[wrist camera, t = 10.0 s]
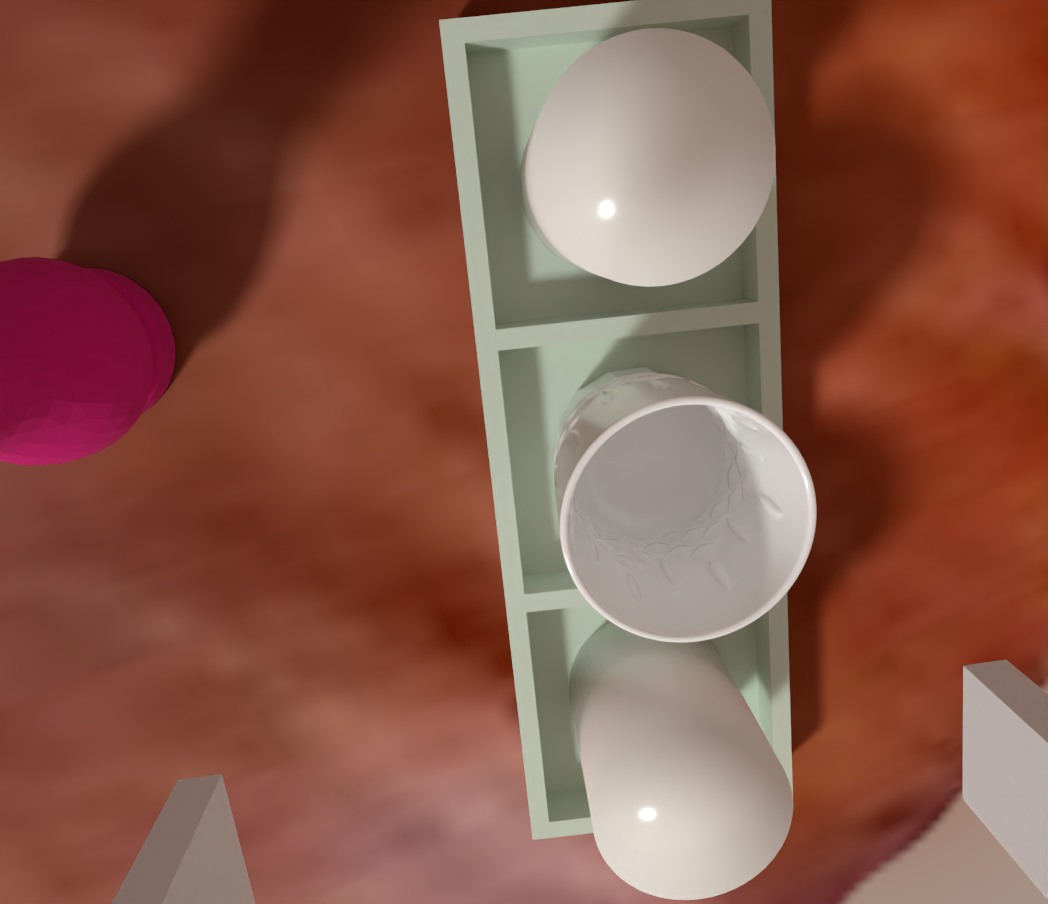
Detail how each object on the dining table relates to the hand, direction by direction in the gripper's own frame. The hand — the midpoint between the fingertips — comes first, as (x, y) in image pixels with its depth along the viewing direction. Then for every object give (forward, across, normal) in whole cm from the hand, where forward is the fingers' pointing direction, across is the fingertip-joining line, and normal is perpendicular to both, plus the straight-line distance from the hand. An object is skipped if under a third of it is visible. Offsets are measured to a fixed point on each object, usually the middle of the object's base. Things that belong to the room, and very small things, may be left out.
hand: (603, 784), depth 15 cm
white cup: (+22, +4, 0) cm, 22 cm away
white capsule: (+21, +4, -11) cm, 24 cm away
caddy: (+22, +4, 0) cm, 23 cm away
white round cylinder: (+22, +4, +11) cm, 24 cm away
